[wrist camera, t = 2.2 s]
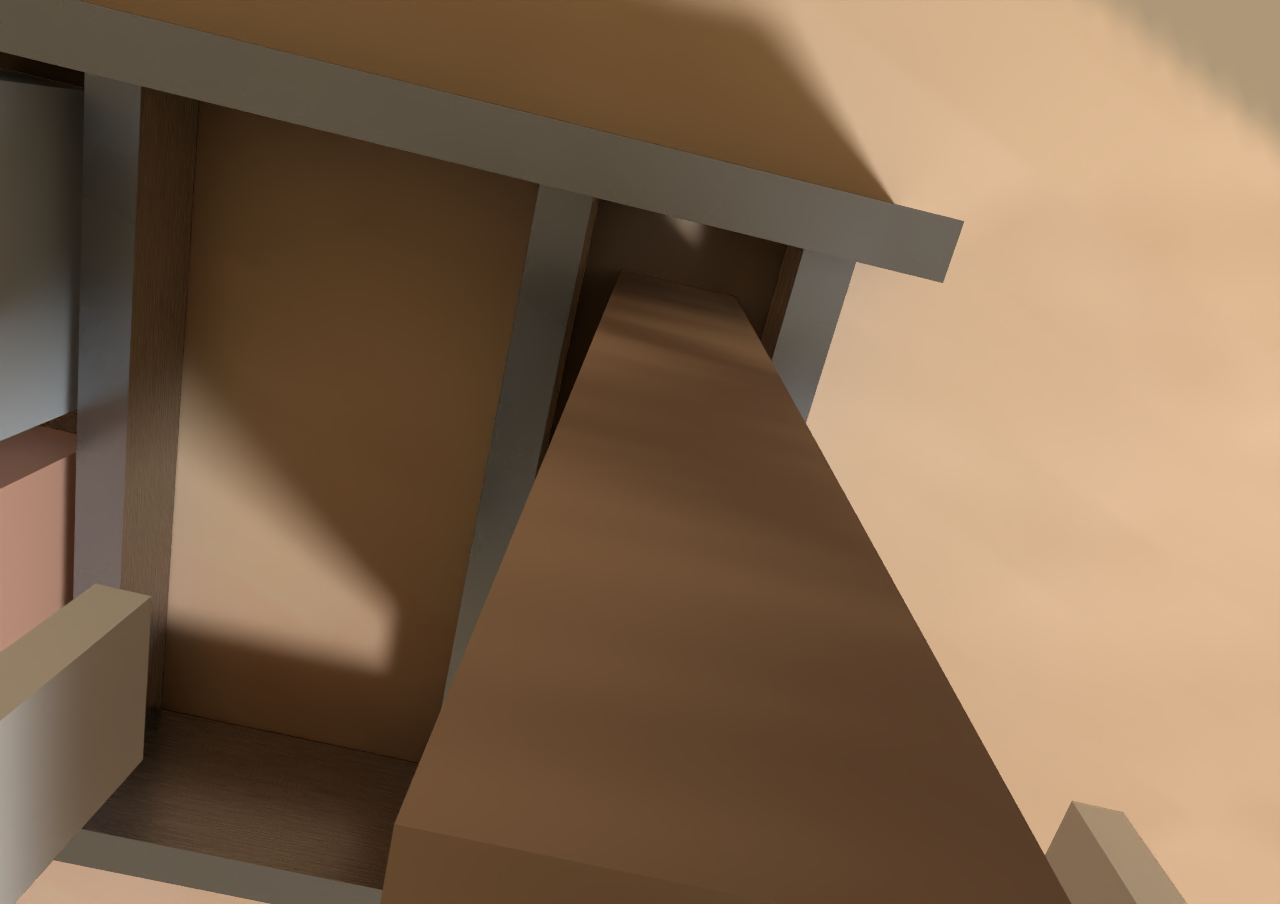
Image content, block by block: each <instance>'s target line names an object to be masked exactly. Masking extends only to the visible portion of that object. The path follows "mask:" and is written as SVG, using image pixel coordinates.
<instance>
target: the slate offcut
mask: <svg viewBox="0 0 1280 904" xmlns="http://www.w3.org/2000/svg"><path fill="white" fill-rule="evenodd" d="M83 130H84V88H83V87H79V86H74V85H70V84H66V83H62V82H58V81H54V80H50V79H46V78H42V77H38V76H34V75H29V74H25V73H21V72H17V71H13V70H7V69H0V441H1V440H4V439H6V438H9V437H11V436H13V435H16V434H18V433H21V432H23V431H26V430H28V429H30V428H33V427H35V426H38V425H40V424H42V423H45V422H47V421H50V420H52V419H55V418H57V417H59V416H62V415H64V414H67V413H69V412H71V411H74V410H76V409H77V405H78V359H79V313H80V267H81V221H82V176H83Z"/></svg>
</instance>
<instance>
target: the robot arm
mask: <svg viewBox="0 0 1280 904" xmlns="http://www.w3.org/2000/svg"><path fill="white" fill-rule="evenodd" d="M151 601H152V596H149V595H144V594H140V593H135V592H131V591H126V590H122V589H117V588H113V587H108V586H104V585H99V584H94V585H93V586H92V587H90V588H89V589H87V590H86V591H85V592H83V593H82V594H80V595H79V596H78V597H76V598H75V599H74V600H72V601H71V602H69V603H68V604H67V605H65V606H64V607H62V608H61V609H60V610H58V611H57V612H56V613H54V614H53V615H51V616H50V617H49V618H47V619H46V620H44V621H43V622H42V623H40V624H39V625H38V626H36V627H35V628H33V629H32V630H31V631H29V632H28V633H26V634H25V635H24V636H22V637H21V638H20V639H18V640H17V641H15V642H14V643H13V644H11V645H10V646H8V647H7V648H6V649H4V650H3V651H2V652H0V904H14V903H15V902H16V901H17V900H18V899H19V898H20V897H21V896H22V894H23V893H24V892H25V891H26V890H27V889H28V888H29V887H30V885H31V884H32V883H33V882H34V881H35V880H36V879H37V878H38V877H39V875H40V874H41V873H42V872H43V871H44V870H45V869H46V868H47V866H48V865H49V864H50V863H51V862H52V861H53V860H54V859H55V858H56V856H57V855H58V854H59V853H60V852H61V851H62V850H63V849H64V847H65V846H66V845H67V844H68V843H69V842H70V841H71V840H72V838H73V837H74V836H75V835H76V834H77V833H78V832H79V831H80V830H81V828H82V827H83V826H84V825H85V824H86V823H87V822H88V821H89V819H90V818H91V817H92V816H93V815H94V814H95V813H96V812H97V810H98V809H99V808H100V807H101V806H102V805H103V804H104V803H105V802H106V800H107V799H108V798H109V797H110V796H111V795H112V794H113V793H114V791H115V790H116V789H117V788H118V787H119V786H120V785H121V784H122V783H123V781H124V780H125V779H126V778H127V777H128V776H129V775H130V774H131V772H132V771H133V770H134V769H135V768H136V767H137V766H138V765H139V763H140V762H141V761H142V760H143V748H144V729H145V711H146V693H147V674H148V656H149V637H150V619H151ZM1045 857H1046V859H1047V860H1048V862H1049V864H1050V866H1051V868H1052V869H1053V871H1054V873H1055V875H1056V877H1057V878H1058V880H1059V882H1060V884H1061V886H1062V887H1063V889H1064V891H1065V893H1066V895H1067V897H1068V898H1069V900H1070V902H1071V904H1187V903H1186V901H1185V900H1184V898H1183V897H1182V895H1181V894H1180V893H1179V891H1178V890H1177V888H1176V887H1175V885H1174V884H1173V883H1172V881H1171V880H1170V878H1169V877H1168V875H1167V874H1166V873H1165V871H1164V870H1163V868H1162V867H1161V865H1160V864H1159V863H1158V861H1157V860H1156V858H1155V857H1154V855H1153V854H1152V853H1151V851H1150V850H1149V848H1148V847H1147V845H1146V844H1145V843H1144V841H1143V840H1142V838H1141V837H1140V835H1139V834H1138V833H1137V831H1136V830H1135V828H1134V827H1133V825H1132V824H1131V823H1130V821H1129V820H1128V818H1127V817H1126V815H1125V814H1124V813H1123V812H1120V811H1115V810H1111V809H1106V808H1102V807H1097V806H1093V805H1088V804H1084V803H1079V802H1075V801H1072V802H1071V804H1070V806H1069V808H1068V810H1067V812H1066V814H1065V816H1064V818H1063V820H1062V822H1061V824H1060V826H1059V828H1058V830H1057V832H1056V834H1055V836H1054V839H1053V841H1052V843H1051V845H1050V847H1049V849H1048V851H1047V853H1046V855H1045Z"/></svg>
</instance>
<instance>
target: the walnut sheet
mask: <svg viewBox="0 0 1280 904" xmlns="http://www.w3.org/2000/svg"><path fill="white" fill-rule="evenodd" d="M380 904H1071V902H1070V900H1069V898H1068V897H1067V895H1066V893H1065V891H1064V889H1063V887H1062V886H1061V884H1060V882H1059V880H1058V878H1057V877H1056V875H1055V873H1054V871H1053V869H1052V868H1051V866H1050V864H1049V862H1048V860H1047V859H1046V857H1045V855H1044V853H1043V851H1042V850H1041V848H1040V846H1039V844H1038V842H1037V840H1036V839H1035V837H1034V835H1033V833H1032V831H1031V830H1030V828H1029V826H1028V824H1027V822H1026V821H1025V819H1024V817H1023V815H1022V813H1021V812H1020V810H1019V808H1018V806H1017V804H1016V803H1015V801H1014V799H1013V797H1012V795H1011V793H1010V792H1009V790H1008V788H1007V786H1006V784H1005V783H1004V781H1003V779H1002V777H1001V775H1000V774H999V772H998V770H997V768H996V766H995V765H994V763H993V761H992V759H991V757H990V756H989V754H988V752H987V750H986V748H985V746H984V745H983V743H982V741H981V739H980V737H979V736H978V734H977V732H976V730H975V728H974V727H973V725H972V723H971V721H970V719H969V718H968V716H967V714H966V712H965V710H964V709H963V707H962V705H961V703H960V701H959V699H958V698H957V696H956V694H955V692H954V690H953V689H952V687H951V685H950V683H949V681H948V680H947V678H946V676H945V674H944V672H943V671H942V669H941V667H940V665H939V663H938V662H937V660H936V658H935V656H934V654H933V652H932V651H931V649H930V647H929V645H928V643H927V642H926V640H925V638H924V636H923V634H922V633H921V631H920V629H919V627H918V625H917V624H916V622H915V620H914V618H913V616H912V615H911V613H910V611H909V609H908V607H907V605H906V604H905V602H904V600H903V598H902V596H901V595H900V593H899V591H898V589H897V587H896V586H895V584H894V582H893V580H892V578H891V577H890V575H889V573H888V571H887V569H886V567H885V566H884V564H883V562H882V560H881V558H880V557H879V555H878V553H877V551H876V549H875V548H874V546H873V544H872V542H871V540H870V539H869V537H868V535H867V533H866V531H865V530H864V528H863V526H862V524H861V522H860V520H859V519H858V517H857V515H856V513H855V511H854V510H853V508H852V506H851V504H850V502H849V501H848V499H847V497H846V495H845V493H844V492H843V490H842V488H841V486H840V484H839V483H838V481H837V479H836V477H835V475H834V473H833V472H832V470H831V468H830V466H829V464H828V463H827V461H826V459H825V457H824V455H823V454H822V452H821V450H820V448H819V446H818V445H817V443H816V441H815V439H814V437H813V436H812V434H811V432H810V430H809V428H808V426H807V425H806V423H805V421H804V419H803V417H802V416H801V414H800V412H799V410H798V408H797V407H796V405H795V403H794V401H793V399H792V398H791V396H790V394H789V392H788V390H787V389H786V387H785V385H784V383H783V381H782V379H781V378H780V376H779V374H778V372H777V370H776V369H775V367H774V365H773V363H772V361H771V360H770V358H769V356H768V354H767V352H766V351H765V349H764V347H763V345H762V343H761V342H760V340H759V338H758V336H757V334H756V332H755V331H754V329H753V327H752V325H751V323H750V322H749V320H748V318H747V316H746V314H745V313H744V311H743V309H742V307H741V305H740V304H739V302H738V300H737V298H736V297H733V296H729V295H725V294H720V293H716V292H712V291H708V290H704V289H700V288H696V287H692V286H687V285H683V284H679V283H675V282H671V281H667V280H663V279H658V278H654V277H650V276H646V275H642V274H638V273H634V272H629V271H625V270H621V272H620V274H619V277H618V279H617V282H616V284H615V287H614V289H613V291H612V294H611V296H610V299H609V301H608V304H607V306H606V309H605V311H604V313H603V316H602V318H601V321H600V323H599V326H598V328H597V331H596V333H595V335H594V338H593V340H592V343H591V345H590V348H589V350H588V352H587V355H586V357H585V360H584V362H583V365H582V367H581V370H580V372H579V374H578V377H577V379H576V382H575V384H574V387H573V389H572V392H571V394H570V396H569V399H568V401H567V404H566V406H565V409H564V411H563V413H562V416H561V418H560V421H559V423H558V426H557V428H556V431H555V433H554V435H553V438H552V440H551V443H550V445H549V448H548V450H547V453H546V455H545V457H544V460H543V462H542V465H541V467H540V470H539V472H538V474H537V477H536V479H535V482H534V484H533V487H532V489H531V492H530V494H529V496H528V499H527V501H526V504H525V506H524V509H523V511H522V514H521V516H520V518H519V521H518V523H517V526H516V528H515V531H514V533H513V535H512V538H511V540H510V543H509V545H508V548H507V550H506V553H505V555H504V557H503V560H502V562H501V565H500V567H499V570H498V572H497V575H496V577H495V579H494V582H493V584H492V587H491V589H490V592H489V594H488V596H487V599H486V601H485V604H484V606H483V609H482V611H481V614H480V616H479V618H478V621H477V623H476V626H475V628H474V631H473V633H472V636H471V638H470V640H469V643H468V645H467V648H466V650H465V653H464V655H463V657H462V660H461V662H460V665H459V667H458V670H457V672H456V675H455V677H454V679H453V682H452V684H451V687H450V689H449V692H448V694H447V697H446V699H445V701H444V704H443V706H442V709H441V711H440V714H439V716H438V718H437V721H436V723H435V726H434V728H433V731H432V733H431V736H430V738H429V740H428V743H427V745H426V748H425V750H424V753H423V755H422V758H421V760H420V762H419V765H418V767H417V770H416V772H415V775H414V777H413V779H412V782H411V784H410V787H409V789H408V792H407V794H406V797H405V799H404V801H403V804H402V806H401V809H400V811H399V814H398V816H397V819H396V821H395V823H394V828H393V834H392V840H391V845H390V851H389V857H388V862H387V868H386V874H385V879H384V885H383V891H382V896H381V902H380Z"/></svg>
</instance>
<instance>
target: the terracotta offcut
mask: <svg viewBox="0 0 1280 904" xmlns="http://www.w3.org/2000/svg"><path fill="white" fill-rule="evenodd" d="M76 450H77V434H75V433H70V432H66V431H61V430H57V429H52V428H48V427H44V426H39V425H38V426H35V427H33V428H30V429H28V430H26V431H23V432H21V433H18V434H16V435H13V436H11V437H9V438H6V439H4V440H1V441H0V652H2V651H3V650H4V649H6V648H7V647H8V646H10V645H11V644H13V643H14V642H15V641H17V640H18V639H20V638H21V637H22V636H24V635H25V634H26V633H28V632H29V631H31V630H32V629H33V628H35V627H36V626H38V625H39V624H40V623H42V622H43V621H44V620H46V619H47V618H49V617H50V616H51V615H53V614H54V613H56V612H57V611H58V610H60V609H61V608H62V607H64V606H65V605H67V604H68V603H69V602H71V601H72V600H73V588H74V542H75V496H76Z"/></svg>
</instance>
